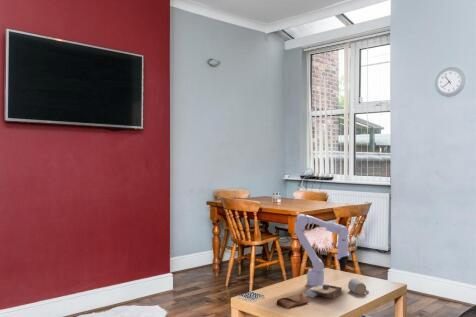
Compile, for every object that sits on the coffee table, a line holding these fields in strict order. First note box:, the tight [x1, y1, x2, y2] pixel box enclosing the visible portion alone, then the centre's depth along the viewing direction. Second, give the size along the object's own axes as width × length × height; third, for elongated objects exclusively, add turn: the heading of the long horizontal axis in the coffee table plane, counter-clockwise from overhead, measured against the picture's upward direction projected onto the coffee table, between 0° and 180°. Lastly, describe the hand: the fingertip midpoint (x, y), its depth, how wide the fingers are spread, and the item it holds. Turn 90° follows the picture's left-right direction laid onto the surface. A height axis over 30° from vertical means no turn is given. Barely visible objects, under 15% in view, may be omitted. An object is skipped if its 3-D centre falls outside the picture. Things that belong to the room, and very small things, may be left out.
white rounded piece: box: [305, 286, 319, 299], centre depth 236 cm, size 6×5×5 cm
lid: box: [311, 283, 337, 295], centre depth 233 cm, size 10×10×2 cm
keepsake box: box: [318, 284, 343, 300], centre depth 239 cm, size 10×10×4 cm
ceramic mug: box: [347, 278, 370, 296], centre depth 244 cm, size 11×8×8 cm
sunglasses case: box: [276, 293, 311, 310], centre depth 225 cm, size 18×7×7 cm, turn 126°
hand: (342, 269), depth 257 cm, fingers closed
